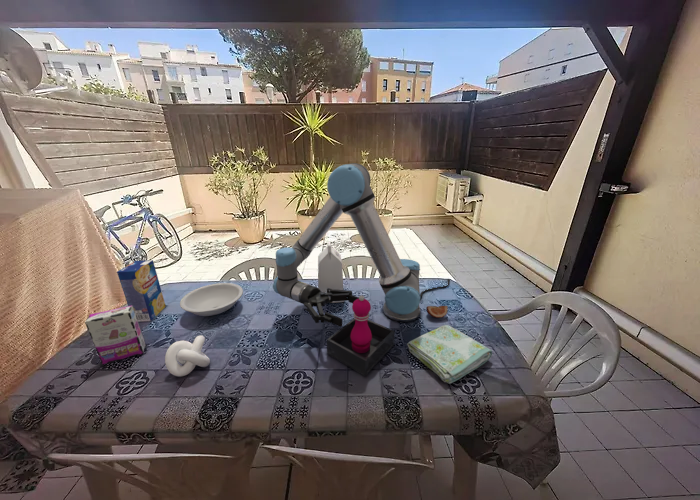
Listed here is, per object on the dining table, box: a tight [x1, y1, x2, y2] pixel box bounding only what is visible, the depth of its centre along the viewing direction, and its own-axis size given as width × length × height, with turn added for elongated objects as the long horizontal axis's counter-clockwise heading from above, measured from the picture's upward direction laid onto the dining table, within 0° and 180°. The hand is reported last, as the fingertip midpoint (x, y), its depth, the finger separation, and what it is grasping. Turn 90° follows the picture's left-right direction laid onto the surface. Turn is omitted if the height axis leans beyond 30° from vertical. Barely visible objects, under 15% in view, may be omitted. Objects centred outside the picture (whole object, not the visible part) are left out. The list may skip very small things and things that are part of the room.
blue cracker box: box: [116, 259, 167, 323], centre depth 110 cm, size 7×11×22 cm, turn 7°
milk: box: [317, 240, 345, 304], centre depth 122 cm, size 12×12×26 cm
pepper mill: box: [350, 294, 372, 353], centre depth 89 cm, size 7×7×20 cm
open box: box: [326, 317, 396, 377], centre depth 92 cm, size 18×16×6 cm
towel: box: [406, 324, 493, 385], centre depth 89 cm, size 18×21×5 cm
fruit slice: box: [426, 305, 449, 319], centre depth 110 cm, size 8×7×5 cm
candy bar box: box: [84, 305, 147, 365], centre depth 88 cm, size 11×5×16 cm, turn 117°
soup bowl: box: [179, 282, 244, 317], centre depth 116 cm, size 24×24×7 cm
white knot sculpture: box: [164, 334, 211, 378], centre depth 85 cm, size 11×12×9 cm
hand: (353, 312), depth 90 cm, fingers open, 13 cm apart
